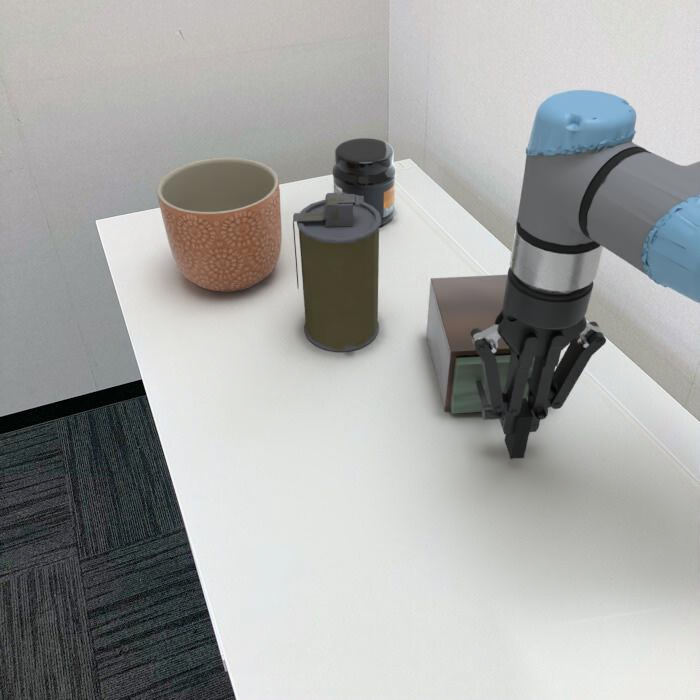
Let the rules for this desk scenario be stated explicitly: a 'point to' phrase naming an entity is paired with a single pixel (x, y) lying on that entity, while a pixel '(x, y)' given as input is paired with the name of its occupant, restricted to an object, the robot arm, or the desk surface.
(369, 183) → the supplement container
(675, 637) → the desk surface
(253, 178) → the planter
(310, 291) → the canister
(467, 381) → the green drawer
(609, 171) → the robot arm
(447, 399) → the drawer cabinet
